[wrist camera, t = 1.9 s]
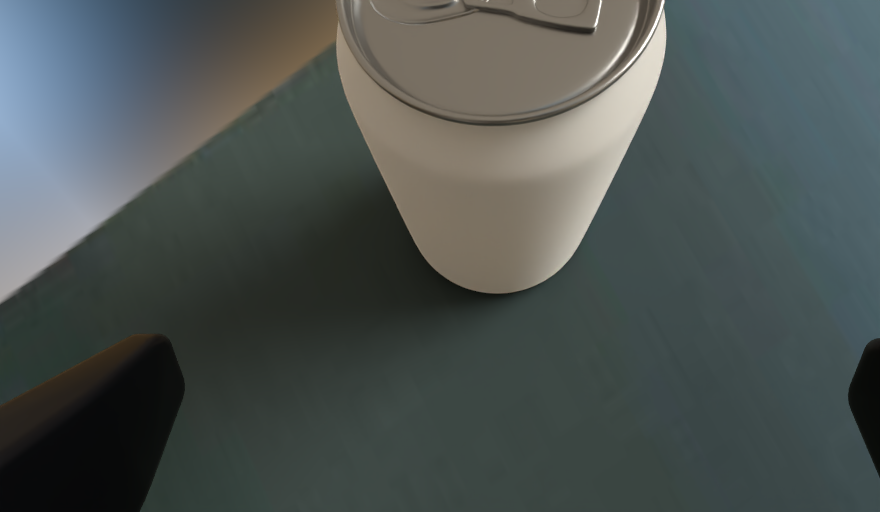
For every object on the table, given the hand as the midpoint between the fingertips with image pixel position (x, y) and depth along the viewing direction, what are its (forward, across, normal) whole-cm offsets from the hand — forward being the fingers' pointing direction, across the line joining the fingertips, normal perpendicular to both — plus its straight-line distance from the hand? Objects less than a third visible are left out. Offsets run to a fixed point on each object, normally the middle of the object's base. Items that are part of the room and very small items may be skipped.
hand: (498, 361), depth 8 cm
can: (+14, 0, +4) cm, 14 cm away
